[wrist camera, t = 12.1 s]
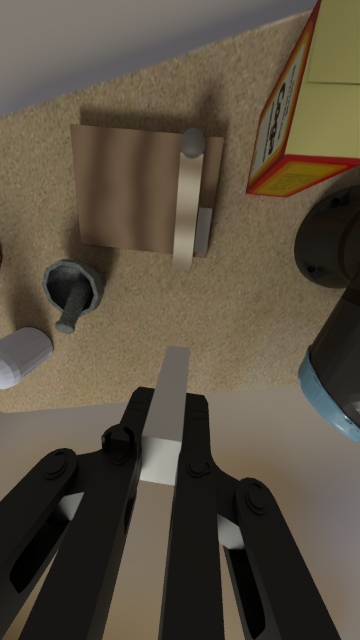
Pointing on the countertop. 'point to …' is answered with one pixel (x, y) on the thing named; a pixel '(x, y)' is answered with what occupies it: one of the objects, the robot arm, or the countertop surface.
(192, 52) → the countertop surface
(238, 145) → the countertop surface
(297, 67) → the baking soda box
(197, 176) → the hinged leg
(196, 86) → the countertop surface
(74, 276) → the mortar and pestle
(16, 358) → the soap bottle
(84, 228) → the stool seat
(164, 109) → the countertop surface
